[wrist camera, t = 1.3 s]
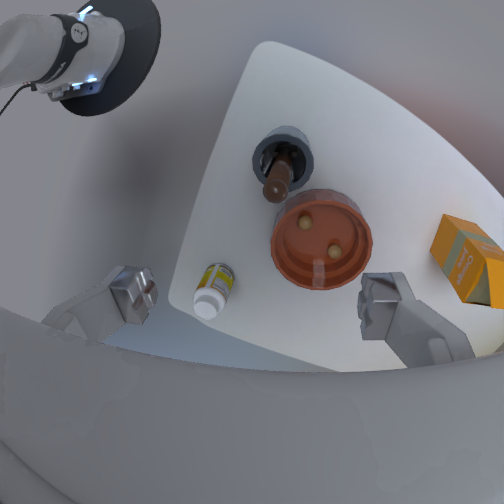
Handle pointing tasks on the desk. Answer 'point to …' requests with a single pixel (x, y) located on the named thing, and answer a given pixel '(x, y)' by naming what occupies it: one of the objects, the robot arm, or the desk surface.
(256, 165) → the crock
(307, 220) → the bead
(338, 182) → the desk surface
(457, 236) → the orange juice
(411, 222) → the desk surface
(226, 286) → the supplement bottle
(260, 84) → the desk surface
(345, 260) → the bowl
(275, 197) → the stir paddle
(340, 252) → the bead
